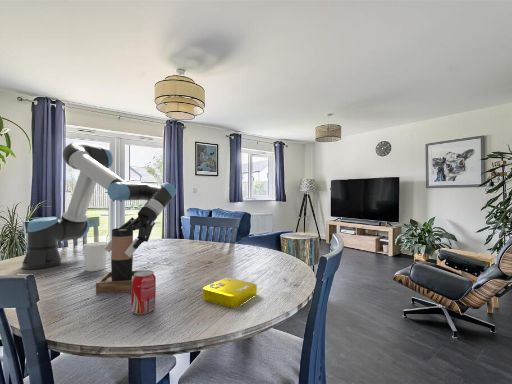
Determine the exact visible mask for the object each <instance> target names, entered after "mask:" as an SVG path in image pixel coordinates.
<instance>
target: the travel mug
mask: <svg viewBox="0 0 512 384" xmlns="http://www.w3.org/2000/svg"><path fill="white" fill-rule="evenodd" d="M118 228H119V227H118ZM118 228H113V229H111V239H112V247H111V251H110V253H111V254H110V256H111V257H110V259H111V260H110V265H111V267H110V269H111V271H110V272H111V276H112V281H127V280H131V279H132V271H133V262H134V261H133V260H134V259H133V258H134V253H133V254H132V255H131V257H129V256H127V255H126V254H125V253H124V252H125V251H126V250H127V249H128V247H129V246H130V245H131V244H132V243H133V241H134V231H133V228H124V229H118Z"/></svg>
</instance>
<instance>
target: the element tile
mask: <svg viewBox="0 0 512 384" xmlns="http://www.w3.org/2000/svg"><path fill="white" fill-rule="evenodd" d="M257 289H258V286H257V284H256V283H254V282H249V281H244V280H240V279H235V278H231V277H225V278H222V279H220V280H217V281H215V282H212V283H210V284H208V285H205V286H204V287H203V288H202V300H204V301H205V302H209V303H212V302H213V304H216V305H219V304H220V306H223V307H226V306H227V308H229V307H232V308H231V309H235V308H234V307H237V308H239V307H241V306H242V305H241V304H243V303H244V302H246V301H247V300H249V299H250V298H252V297H253V296H255V295H256V294H257V291H258V290H257ZM256 296H257V295H256ZM252 299H253V298H252ZM249 301H250V300H249ZM247 302H248V301H247ZM247 302H246V303H247ZM244 304H245V303H244ZM244 304H243V305H244ZM240 305H241V306H240ZM238 306H239V307H238Z"/></svg>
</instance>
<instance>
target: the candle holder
mask: <svg viewBox="0 0 512 384" xmlns="http://www.w3.org/2000/svg"><path fill="white" fill-rule="evenodd" d="M107 244H108V242H107V241H93V242H87V243H84V244H83V250H84V251H83V252H84V253H83V255H84V270H85V271H87V272H98V271H102V270H104V269H105V268H106V266H107V265H106V264H107V253H108V251H107V250H105V249H104V247H105V246H106V245H107Z"/></svg>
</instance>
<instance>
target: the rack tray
mask: <svg viewBox="0 0 512 384" xmlns="http://www.w3.org/2000/svg"><path fill="white" fill-rule="evenodd" d="M143 270H144V269H142V270H138V269H137V270H132V278H133V277H134V273H135V272H138V271H143ZM131 285H132V279H131V280H127V281H112V276H111V271H107V272H106V273H105V274H104V275H102V277H101V278H99V280H98V281H97V282H96V283H95V295H102V294H118V293H119V294H121V293H131Z"/></svg>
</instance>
